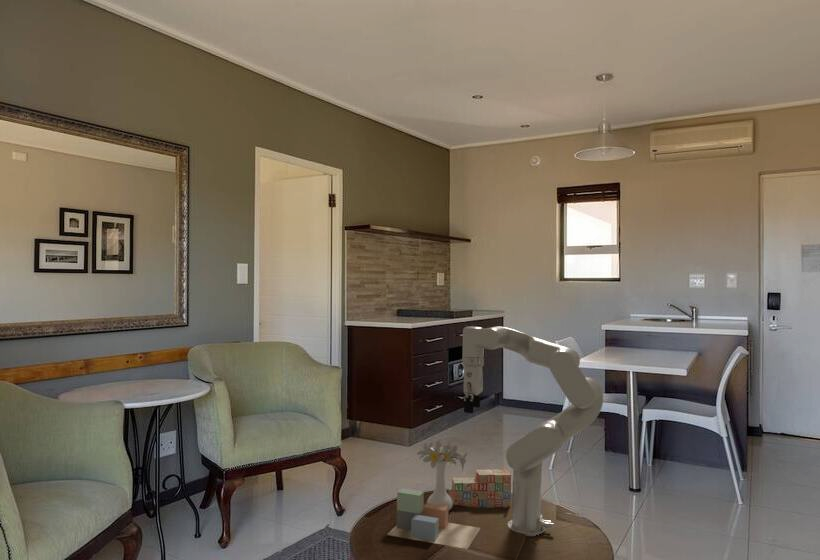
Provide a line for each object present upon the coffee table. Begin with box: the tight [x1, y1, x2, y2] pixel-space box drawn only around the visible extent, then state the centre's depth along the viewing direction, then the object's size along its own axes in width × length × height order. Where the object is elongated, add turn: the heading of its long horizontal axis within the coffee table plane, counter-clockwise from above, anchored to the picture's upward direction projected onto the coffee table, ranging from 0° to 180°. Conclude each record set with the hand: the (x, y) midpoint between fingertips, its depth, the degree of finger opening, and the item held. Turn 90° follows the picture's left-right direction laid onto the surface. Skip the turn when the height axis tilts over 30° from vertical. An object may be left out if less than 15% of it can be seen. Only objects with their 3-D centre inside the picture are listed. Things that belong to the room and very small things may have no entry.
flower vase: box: [417, 440, 469, 511], centre depth 216 cm, size 13×18×25 cm
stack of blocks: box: [451, 468, 512, 509], centre depth 224 cm, size 21×6×12 cm, turn 94°
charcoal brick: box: [396, 509, 423, 530], centre depth 200 cm, size 8×4×6 cm, turn 70°
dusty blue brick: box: [411, 515, 439, 542], centre depth 193 cm, size 8×4×6 cm, turn 70°
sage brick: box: [396, 488, 425, 514], centre depth 200 cm, size 8×4×6 cm, turn 69°
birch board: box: [386, 522, 481, 550], centre depth 197 cm, size 27×17×1 cm, turn 70°
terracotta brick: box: [423, 502, 450, 528], centre depth 203 cm, size 8×4×6 cm, turn 70°
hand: (472, 409), depth 211 cm, fingers open, 9 cm apart
